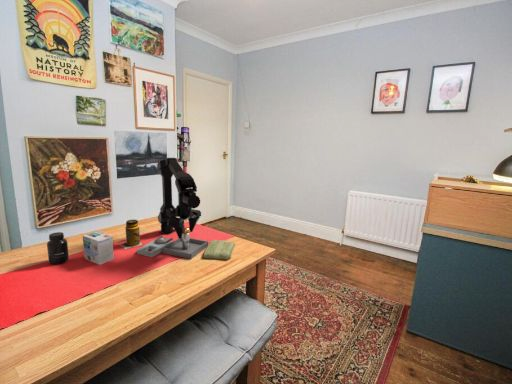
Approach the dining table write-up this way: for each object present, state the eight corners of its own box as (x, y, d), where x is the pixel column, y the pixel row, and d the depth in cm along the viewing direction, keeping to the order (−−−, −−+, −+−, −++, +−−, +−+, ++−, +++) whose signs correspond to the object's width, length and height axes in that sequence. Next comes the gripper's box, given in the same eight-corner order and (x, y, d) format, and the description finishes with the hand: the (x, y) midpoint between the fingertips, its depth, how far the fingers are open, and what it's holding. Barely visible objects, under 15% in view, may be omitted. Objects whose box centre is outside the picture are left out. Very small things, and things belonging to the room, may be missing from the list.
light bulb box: (84, 258, 114) (81, 235, 112) (99, 253, 120) (97, 230, 118) (99, 265, 110) (97, 240, 107) (114, 258, 115) (112, 235, 113)
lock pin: (185, 246, 129) (184, 226, 127) (191, 247, 128) (190, 227, 126) (180, 248, 126) (180, 228, 124) (187, 250, 125) (186, 230, 123)
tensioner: (159, 240, 136) (159, 234, 135) (174, 243, 133) (174, 237, 132) (136, 253, 121) (136, 246, 120) (152, 257, 118) (152, 250, 117)
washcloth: (235, 245, 135) (235, 239, 135) (230, 261, 118) (230, 254, 117) (210, 243, 136) (210, 237, 135) (201, 259, 119) (201, 252, 118)
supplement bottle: (58, 266, 108) (55, 238, 105) (44, 263, 109) (40, 236, 106) (73, 258, 114) (70, 232, 112) (60, 256, 116) (56, 230, 113)
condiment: (143, 244, 131) (141, 221, 128) (124, 249, 125) (123, 225, 122) (137, 240, 136) (136, 217, 133) (119, 244, 130) (117, 221, 127)
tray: (181, 240, 137) (181, 236, 136) (207, 246, 132) (207, 241, 131) (162, 252, 123) (162, 247, 122) (190, 259, 118) (190, 253, 117)
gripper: (182, 196, 133) (182, 226, 137) (156, 205, 116) (158, 239, 120) (201, 199, 130) (201, 229, 133) (178, 209, 113) (179, 243, 116)
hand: (185, 235), depth 126 cm, fingers open, 9 cm apart
